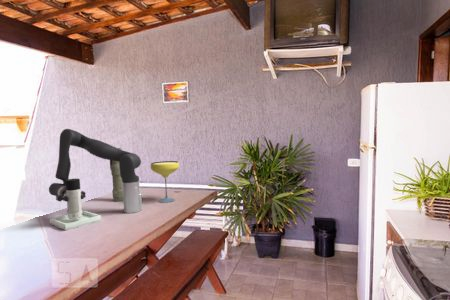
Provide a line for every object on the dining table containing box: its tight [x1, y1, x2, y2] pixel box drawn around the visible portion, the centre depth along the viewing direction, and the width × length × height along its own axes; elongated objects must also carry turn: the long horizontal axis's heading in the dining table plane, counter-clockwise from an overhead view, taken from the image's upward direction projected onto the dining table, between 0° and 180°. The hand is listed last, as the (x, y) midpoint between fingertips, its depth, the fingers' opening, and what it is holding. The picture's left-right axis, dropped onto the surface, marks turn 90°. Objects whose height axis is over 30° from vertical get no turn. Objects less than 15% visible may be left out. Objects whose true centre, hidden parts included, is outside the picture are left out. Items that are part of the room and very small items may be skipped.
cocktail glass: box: [150, 160, 180, 204], centre depth 204 cm, size 18×18×25 cm
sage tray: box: [49, 210, 102, 231], centre depth 162 cm, size 18×18×3 cm
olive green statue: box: [109, 147, 124, 203], centre depth 210 cm, size 9×12×35 cm
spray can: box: [66, 178, 83, 219], centre depth 161 cm, size 7×7×20 cm
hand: (75, 198), depth 160 cm, fingers closed on spray can, 6 cm apart
